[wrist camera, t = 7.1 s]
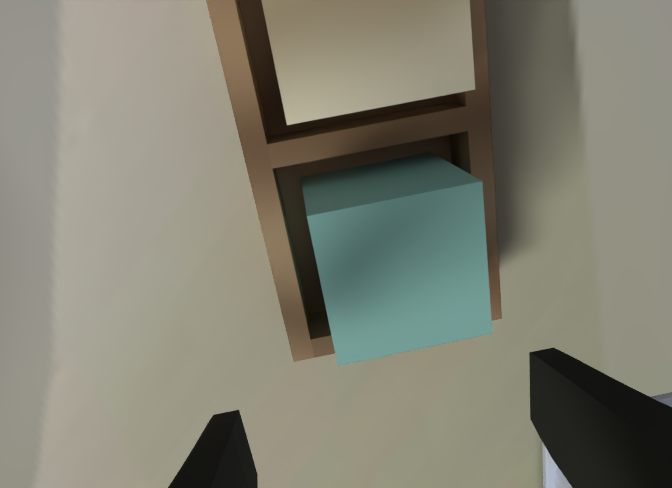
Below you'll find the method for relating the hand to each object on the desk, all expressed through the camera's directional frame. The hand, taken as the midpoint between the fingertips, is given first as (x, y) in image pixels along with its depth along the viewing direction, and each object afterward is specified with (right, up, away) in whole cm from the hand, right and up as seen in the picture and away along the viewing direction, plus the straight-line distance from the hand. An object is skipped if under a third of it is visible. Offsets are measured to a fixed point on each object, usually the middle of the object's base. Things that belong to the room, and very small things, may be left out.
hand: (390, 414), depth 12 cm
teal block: (0, +5, +7) cm, 9 cm away
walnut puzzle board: (-1, +9, +7) cm, 11 cm away
